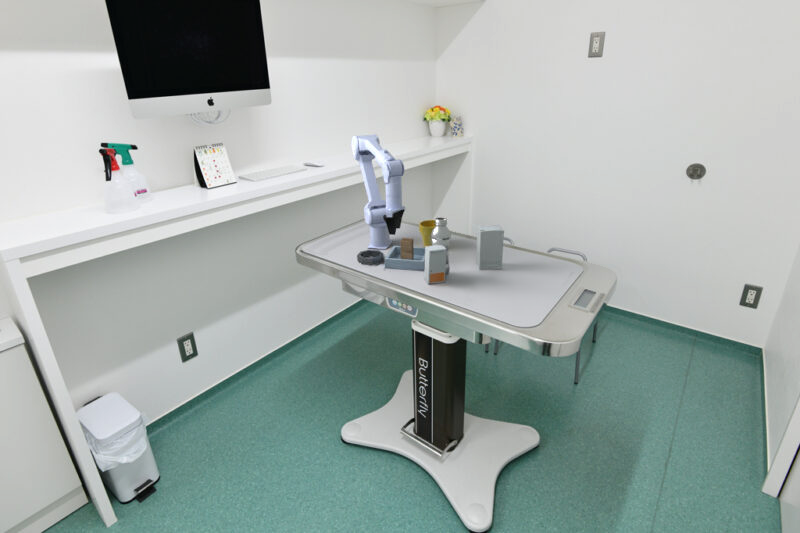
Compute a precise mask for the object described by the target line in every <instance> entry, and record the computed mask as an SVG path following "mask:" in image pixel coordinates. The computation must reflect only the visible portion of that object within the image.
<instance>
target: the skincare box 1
mask: <svg viewBox="0 0 800 533" xmlns="http://www.w3.org/2000/svg"><path fill="white" fill-rule="evenodd" d="M424 248H425V269H424V271H423V273H424V275H423V276H424V278H423V279H424V280H425V281H426V283H427V284H428V285H430V284H431V285H432V284H438V283H445V281H446V276H445V270H446V253H447V249H446V248H445V247H444V246H443V245H433V246H426V247H424Z"/></svg>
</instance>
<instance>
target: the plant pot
mask: <svg viewBox="0 0 800 533" xmlns="http://www.w3.org/2000/svg"><path fill="white" fill-rule="evenodd" d="M435 226H436V225H435V219H427V220H422V221H421V222H419V224H418V230H419V233H420V235H421V238H422V245H423V248H425V247H426V246H432V241H431V233H432V230H433V229H434V228H435Z"/></svg>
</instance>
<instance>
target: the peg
mask: <svg viewBox="0 0 800 533" xmlns="http://www.w3.org/2000/svg"><path fill="white" fill-rule="evenodd" d="M414 242H415V241H414V238H410V237H409V238H408V237H402V238H401V240H400V243H399V244H400V245H399V246H401V259H407V260H413V259H414V247H415V246H414Z"/></svg>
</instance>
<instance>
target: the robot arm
mask: <svg viewBox="0 0 800 533" xmlns="http://www.w3.org/2000/svg"><path fill="white" fill-rule="evenodd" d="M350 144H351V150H352V154H353V158H354V159H355V161H358V164H359V167H360V171H361V176H362V179H363V184H364V188H365V192H366V196H367V200H368V202H367V203H366V205H365V206H364V207H363V212H364V216H363V217H364V221H365V224H367V225H368V226H369V244H368V246H366V248H367V249H373V250H378V249H379V250H387V249H388V248H389V246H390V245H391V244H392V242H393V240H391V239H390V238H391V237H390V236H391V235H393V236H396V232H397V229H401V225H402V220H403V216H404V214H405V211H406V206H404V205H403V198H402V197H403V195H402V194H403V191H402V176H404V174H405V166H404V163H403V161H402V159H400V158H399V159H396V158H395V157H394V156H393V155H392V154H391V153H390V151H388V150H387V149H383V147H382V146H381V145H380V138H379V136H378V134H368V135H353V136H352V137H351V143H350ZM373 160H375V162H376V163H377V164H378V166H379V167H380V168H381V173H382V176H383V181H384V183H385V187H384V188H385V200H384V199H383V198H382V197H381V193H380V189H379V184H378V182H377V177H376V173H375V169H374V167H373Z"/></svg>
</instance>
